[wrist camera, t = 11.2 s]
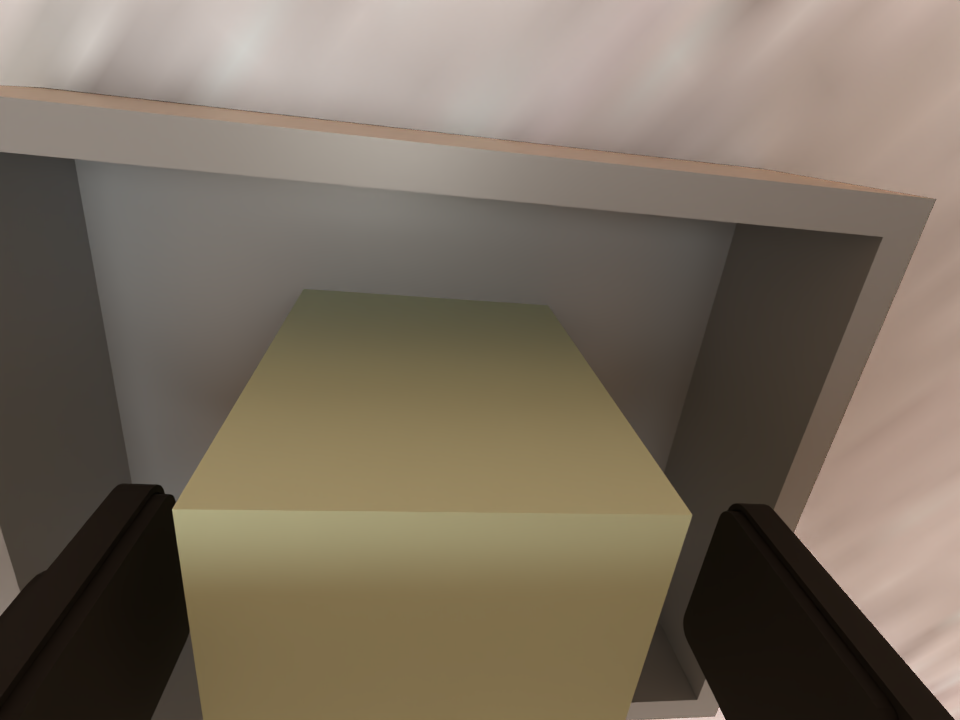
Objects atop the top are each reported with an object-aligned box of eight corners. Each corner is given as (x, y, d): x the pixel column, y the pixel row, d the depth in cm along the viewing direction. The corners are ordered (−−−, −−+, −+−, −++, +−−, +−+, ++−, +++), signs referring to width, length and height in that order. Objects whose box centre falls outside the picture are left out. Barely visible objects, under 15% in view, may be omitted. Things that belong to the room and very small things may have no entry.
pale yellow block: (548, 305, 14) (692, 514, 7) (516, 496, 16) (599, 801, 9) (303, 289, 13) (172, 508, 6) (308, 493, 16) (219, 827, 8)
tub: (764, 169, 14) (936, 199, 9) (643, 573, 19) (715, 716, 15) (41, 87, 11) (-202, 74, 7) (134, 575, 17) (32, 747, 12)
